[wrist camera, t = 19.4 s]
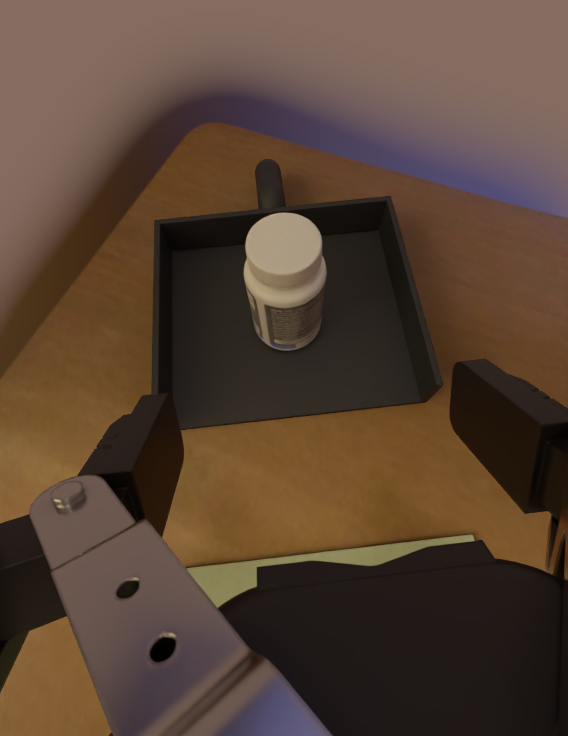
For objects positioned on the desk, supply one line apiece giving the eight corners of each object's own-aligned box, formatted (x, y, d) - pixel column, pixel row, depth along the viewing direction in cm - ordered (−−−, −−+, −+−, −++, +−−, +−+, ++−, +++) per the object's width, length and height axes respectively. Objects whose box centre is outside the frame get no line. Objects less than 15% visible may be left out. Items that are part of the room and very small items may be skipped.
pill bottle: (333, 312, 28) (347, 229, 21) (297, 364, 27) (299, 296, 19) (277, 282, 30) (271, 193, 22) (240, 330, 28) (219, 253, 20)
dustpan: (426, 402, 26) (443, 384, 23) (167, 431, 26) (150, 417, 23) (367, 172, 34) (374, 136, 31) (168, 192, 34) (155, 158, 30)
